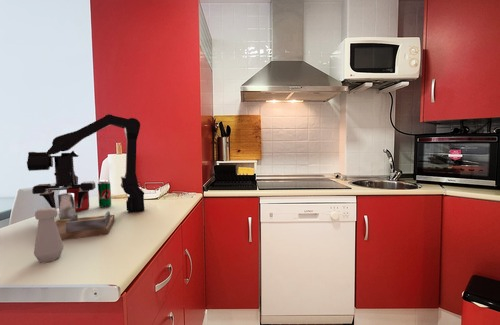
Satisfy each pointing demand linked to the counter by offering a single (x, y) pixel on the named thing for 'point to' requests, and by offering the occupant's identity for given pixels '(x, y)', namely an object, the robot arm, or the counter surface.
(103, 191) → the soda can
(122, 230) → the counter surface
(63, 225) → the dock
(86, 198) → the canned food
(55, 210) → the salt shaker
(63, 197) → the canister
